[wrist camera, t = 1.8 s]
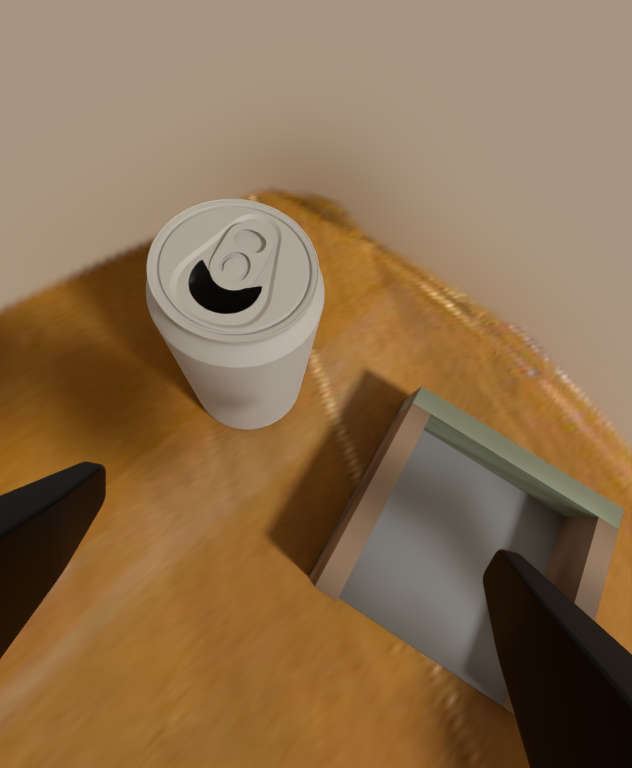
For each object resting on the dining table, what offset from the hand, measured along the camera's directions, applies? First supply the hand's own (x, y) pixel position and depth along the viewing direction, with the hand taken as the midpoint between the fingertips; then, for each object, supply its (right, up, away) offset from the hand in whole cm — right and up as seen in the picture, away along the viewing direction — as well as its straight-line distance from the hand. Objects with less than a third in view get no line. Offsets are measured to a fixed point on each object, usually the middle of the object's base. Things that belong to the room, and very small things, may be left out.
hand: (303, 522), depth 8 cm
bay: (+8, -6, +14) cm, 17 cm away
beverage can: (-4, +3, +15) cm, 16 cm away
